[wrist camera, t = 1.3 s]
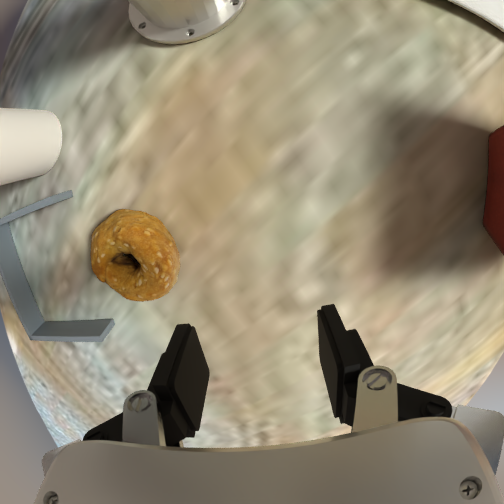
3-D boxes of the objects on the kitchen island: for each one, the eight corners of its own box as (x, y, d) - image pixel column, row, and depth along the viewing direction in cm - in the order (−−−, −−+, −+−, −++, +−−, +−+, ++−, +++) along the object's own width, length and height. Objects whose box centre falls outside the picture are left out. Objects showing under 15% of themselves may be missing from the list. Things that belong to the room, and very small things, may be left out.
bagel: (104, 193, 27) (81, 202, 23) (196, 224, 29) (185, 239, 24) (92, 272, 31) (72, 289, 26) (173, 304, 32) (162, 327, 27)
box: (4, 217, 28) (-15, 225, 24) (71, 190, 27) (50, 196, 23) (43, 326, 34) (30, 340, 30) (115, 323, 33) (102, 341, 29)
